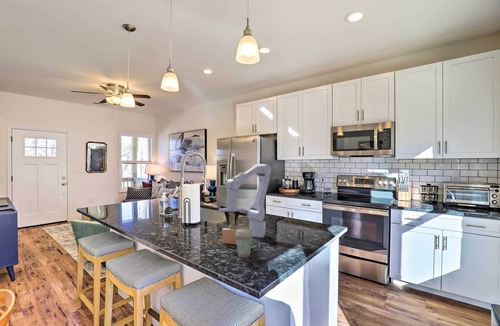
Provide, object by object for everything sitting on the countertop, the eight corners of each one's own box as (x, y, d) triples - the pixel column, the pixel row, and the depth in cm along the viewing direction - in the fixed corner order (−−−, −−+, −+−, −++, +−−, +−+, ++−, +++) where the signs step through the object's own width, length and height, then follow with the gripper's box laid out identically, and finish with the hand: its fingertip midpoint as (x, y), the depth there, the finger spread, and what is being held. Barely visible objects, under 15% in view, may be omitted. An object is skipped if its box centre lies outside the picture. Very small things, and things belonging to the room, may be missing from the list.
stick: (233, 230, 137) (233, 213, 137) (234, 232, 134) (234, 214, 134) (228, 231, 136) (228, 213, 136) (229, 232, 134) (229, 214, 133)
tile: (237, 242, 133) (237, 229, 132) (236, 244, 132) (236, 230, 130) (223, 241, 135) (223, 228, 134) (222, 243, 134) (222, 229, 132)
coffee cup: (231, 254, 117) (231, 230, 117) (244, 250, 123) (244, 226, 123) (243, 260, 111) (243, 234, 111) (256, 255, 117) (256, 230, 117)
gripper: (243, 199, 141) (242, 222, 141) (218, 199, 137) (217, 223, 138) (245, 201, 134) (245, 225, 134) (219, 202, 131) (219, 227, 131)
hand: (231, 225), depth 135 cm, fingers closed on stick, 3 cm apart
